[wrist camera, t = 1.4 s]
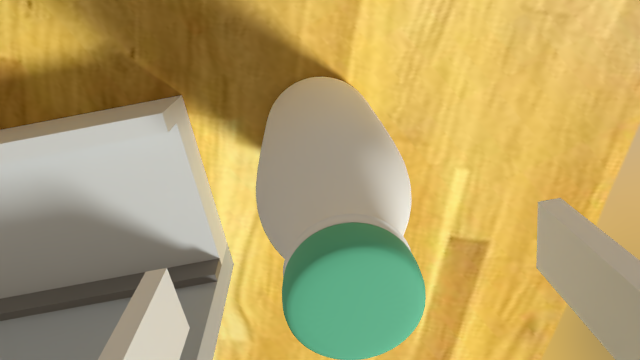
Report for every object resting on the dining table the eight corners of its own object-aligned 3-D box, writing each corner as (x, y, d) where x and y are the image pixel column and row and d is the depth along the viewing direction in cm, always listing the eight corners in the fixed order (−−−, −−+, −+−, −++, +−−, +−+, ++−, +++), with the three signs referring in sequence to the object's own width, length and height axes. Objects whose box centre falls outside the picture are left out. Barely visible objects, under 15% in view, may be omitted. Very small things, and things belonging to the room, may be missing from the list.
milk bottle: (251, 92, 31) (189, 241, 12) (358, 60, 30) (458, 164, 12) (285, 189, 34) (276, 423, 15) (383, 160, 33) (493, 367, 15)
